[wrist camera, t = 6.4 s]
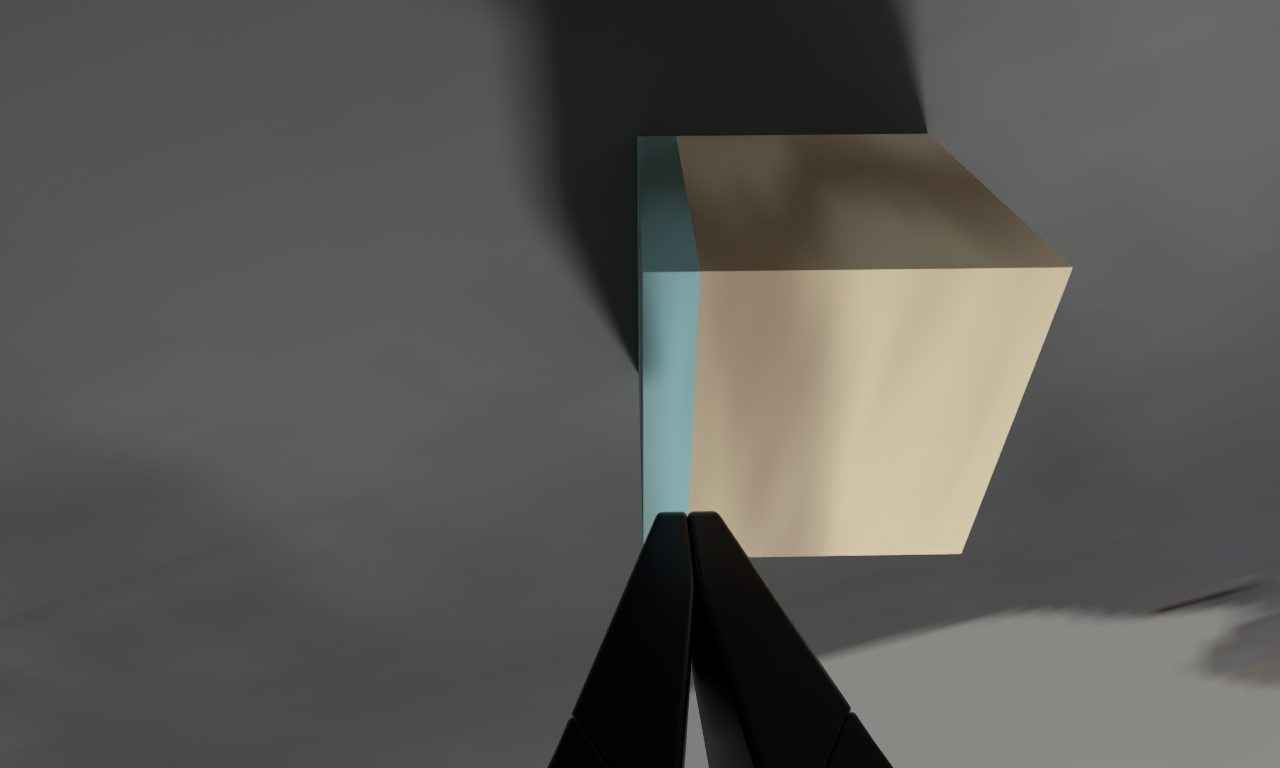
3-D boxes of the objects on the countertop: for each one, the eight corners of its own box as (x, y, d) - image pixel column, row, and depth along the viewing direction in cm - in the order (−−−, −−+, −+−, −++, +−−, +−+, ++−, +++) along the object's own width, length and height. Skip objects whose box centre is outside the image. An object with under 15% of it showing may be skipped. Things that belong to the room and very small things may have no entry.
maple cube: (643, 559, 14) (960, 553, 14) (642, 272, 10) (1072, 267, 10) (638, 373, 18) (873, 370, 18) (637, 136, 15) (927, 133, 15)
